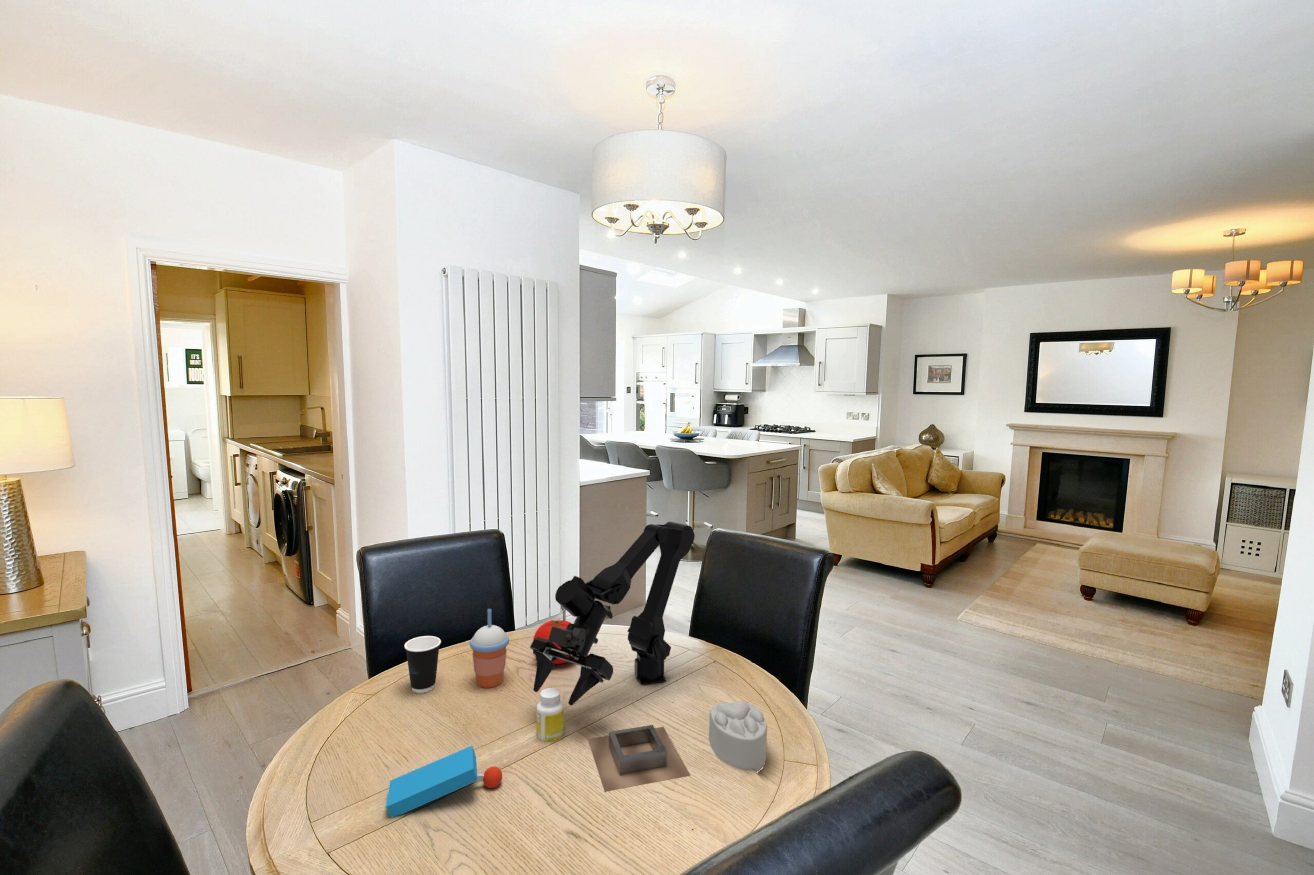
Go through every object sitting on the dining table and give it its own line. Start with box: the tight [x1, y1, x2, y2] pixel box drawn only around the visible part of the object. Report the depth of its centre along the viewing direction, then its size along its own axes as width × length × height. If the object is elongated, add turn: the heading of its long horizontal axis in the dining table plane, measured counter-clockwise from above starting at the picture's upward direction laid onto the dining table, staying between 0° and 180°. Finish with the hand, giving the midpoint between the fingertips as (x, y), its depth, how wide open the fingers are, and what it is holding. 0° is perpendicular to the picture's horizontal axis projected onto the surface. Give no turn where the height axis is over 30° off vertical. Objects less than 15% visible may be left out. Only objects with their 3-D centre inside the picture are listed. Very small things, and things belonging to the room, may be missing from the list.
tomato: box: [532, 619, 573, 665], centre depth 154 cm, size 12×12×10 cm
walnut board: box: [587, 726, 692, 793], centre depth 113 cm, size 16×16×1 cm
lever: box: [385, 745, 503, 818], centre depth 104 cm, size 7×7×18 cm
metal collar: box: [608, 724, 667, 775], centre depth 113 cm, size 9×9×3 cm
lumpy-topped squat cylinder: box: [708, 700, 768, 773], centre depth 116 cm, size 10×13×9 cm
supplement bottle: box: [535, 687, 565, 742], centre depth 120 cm, size 5×5×10 cm
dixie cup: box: [404, 635, 442, 694], centre depth 138 cm, size 8×8×11 cm
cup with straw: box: [469, 608, 510, 689], centre depth 142 cm, size 9×9×18 cm
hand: (552, 697), depth 120 cm, fingers open, 9 cm apart
